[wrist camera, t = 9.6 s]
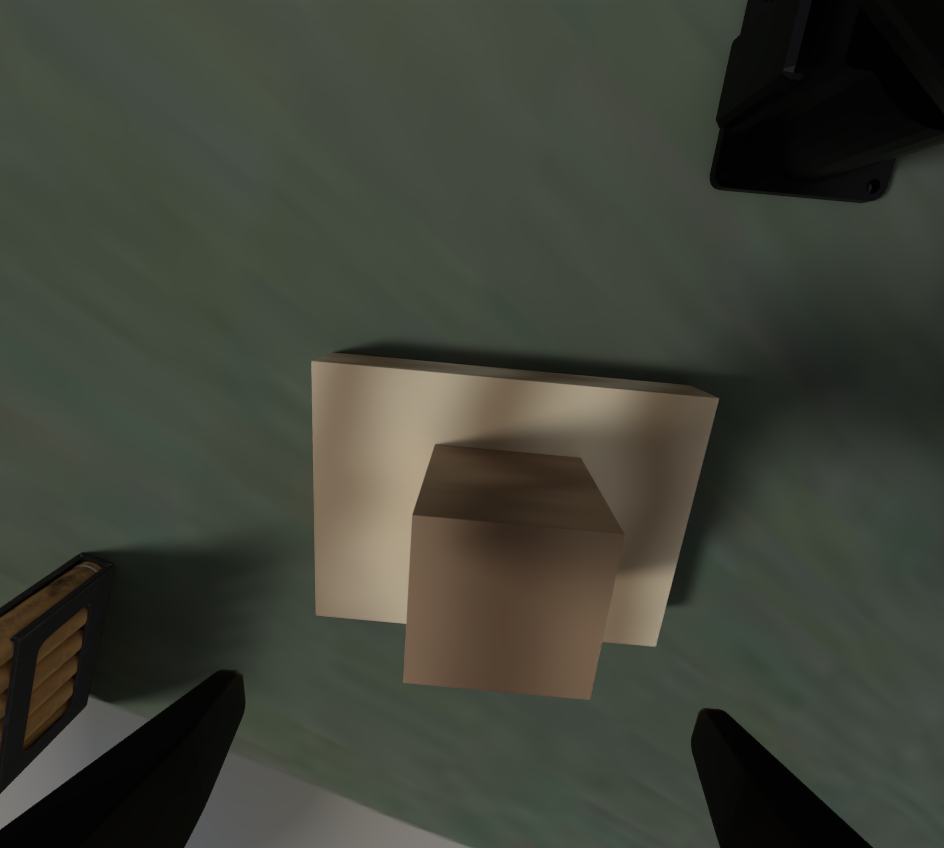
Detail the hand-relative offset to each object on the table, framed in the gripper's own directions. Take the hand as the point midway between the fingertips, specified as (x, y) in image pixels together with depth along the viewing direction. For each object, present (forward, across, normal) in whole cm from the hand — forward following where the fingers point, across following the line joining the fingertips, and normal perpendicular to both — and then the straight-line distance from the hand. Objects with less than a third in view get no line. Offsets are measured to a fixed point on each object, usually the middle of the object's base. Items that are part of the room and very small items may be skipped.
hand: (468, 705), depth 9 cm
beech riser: (+13, -1, +2) cm, 13 cm away
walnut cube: (+10, -1, +2) cm, 11 cm away
